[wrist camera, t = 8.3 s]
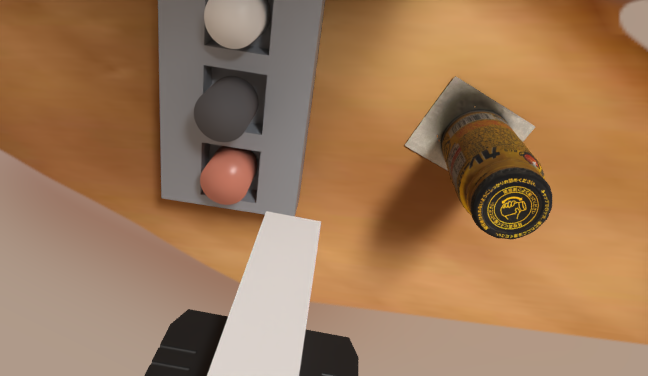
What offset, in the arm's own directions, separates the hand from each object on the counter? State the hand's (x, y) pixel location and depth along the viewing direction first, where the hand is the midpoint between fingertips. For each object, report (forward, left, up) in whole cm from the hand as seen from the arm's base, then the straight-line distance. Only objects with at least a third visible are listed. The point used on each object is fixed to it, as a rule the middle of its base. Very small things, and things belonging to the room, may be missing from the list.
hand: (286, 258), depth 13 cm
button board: (+4, -7, -29) cm, 31 cm away
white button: (-2, -7, -28) cm, 29 cm away
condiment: (+5, +13, -30) cm, 33 cm away
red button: (+11, -7, -28) cm, 31 cm away
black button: (+4, -7, -26) cm, 27 cm away
